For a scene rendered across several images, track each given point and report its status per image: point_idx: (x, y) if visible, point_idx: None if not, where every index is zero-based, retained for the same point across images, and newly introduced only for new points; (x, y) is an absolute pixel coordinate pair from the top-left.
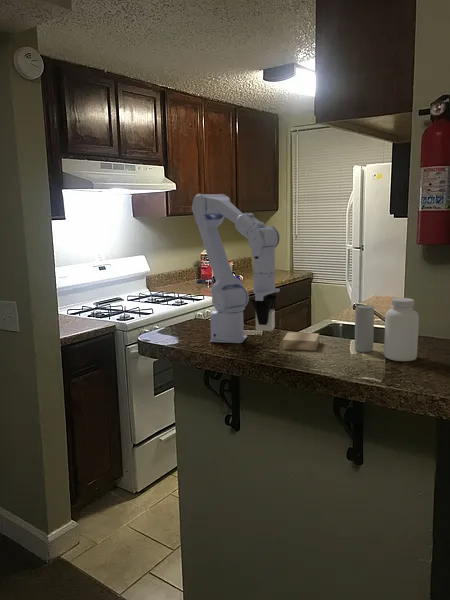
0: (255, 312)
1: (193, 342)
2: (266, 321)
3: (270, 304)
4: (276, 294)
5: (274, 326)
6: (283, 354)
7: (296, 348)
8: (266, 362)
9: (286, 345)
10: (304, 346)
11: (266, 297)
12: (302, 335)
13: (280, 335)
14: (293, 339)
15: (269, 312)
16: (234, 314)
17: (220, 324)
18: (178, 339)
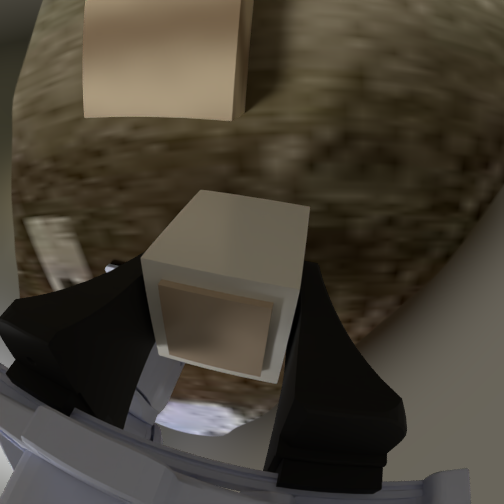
0: (276, 380)
1: (207, 383)
2: (321, 279)
3: (365, 381)
4: (8, 329)
5: (204, 193)
6: (346, 109)
7: (248, 47)
8: (461, 192)
9: (241, 97)
10: (248, 8)
11: (99, 392)
12: (128, 33)
13: (53, 152)
14: (219, 62)
15: (292, 306)
16: (140, 382)
17: (166, 380)
18: (188, 401)
